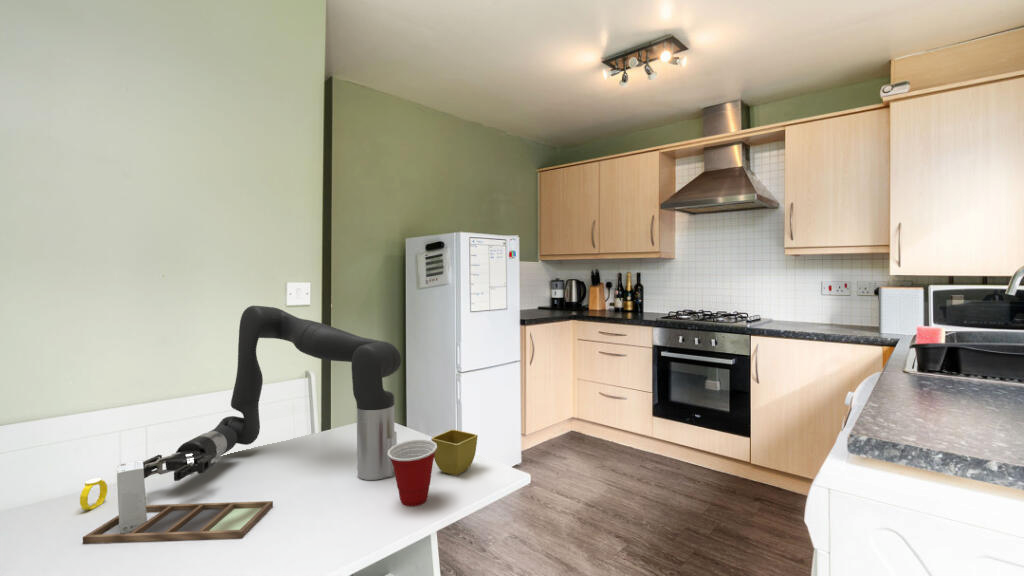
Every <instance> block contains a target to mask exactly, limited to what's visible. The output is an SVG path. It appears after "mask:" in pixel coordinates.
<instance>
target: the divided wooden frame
mask: <svg viewBox="0 0 1024 576" xmlns="http://www.w3.org/2000/svg"><path fill="white" fill-rule="evenodd" d="M273 507H274V501H270V500H269V501H265V500H263V501H237V502H234V501H233V502H209V503H207V502H204V503H203V502H202V503H199V502H198V503H174V504H171V503H170V504H146V513H157V514H155V515H154V516H152V517H151V518H149V519H147V522H145V523H144V524H142V525H141V526H139V527H138V528H136V529H135V530H133V531H132V532H128V533H123V534H120V533H107V534H106V532H107V531H109V530H110V529H112V528H114V527H115V526H117V525H119V514H118V515H116V516H115V517H113V518H112V519H110V520H109V521H107V522H105V523H103V524H101V526H99V527H96V529H94V530H92V531H90V532H89V533H87V534H86V535H84V536H82V545H83V544H85V545H86V544H108V543H109V544H110V543H139V542H140V543H141V542H165V541H166V542H169V541H170V542H171V541H195V540H196V541H197V540H198V541H199V540H201V541H203V540H225V539H227V540H229V539H243V538H244V537H245V535H246V534H248V532H250V530H251V529H253V528H254V527H255V526H256V524H258V522H259V521H260V520H261V519H262V518H263V517H264V516H265V515H266V514H268V513H269V511H270V510H271V509H272V508H273Z"/></svg>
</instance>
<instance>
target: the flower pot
mask: <svg viewBox="0 0 1024 576" xmlns="http://www.w3.org/2000/svg"><path fill="white" fill-rule="evenodd" d="M430 441H433V442H435V443H436V444H437V449H436V451H435V455H434V462H435V464H436V466H437V467H438V469H439V471H440V472H441V473H445V474H448V475H451V476H459V475H460V474H462V473H464V472H465V471H468V469H470V467H471V465H472V463H473V462H474V458H475V455H476V451H477V444H478V434H475V433H472V432H468V431H462V430H459V429H458V430H457V429H450V430H447V431H445V432H443V433H440V434H437V435H435V436H433V437H431V440H430Z"/></svg>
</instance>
